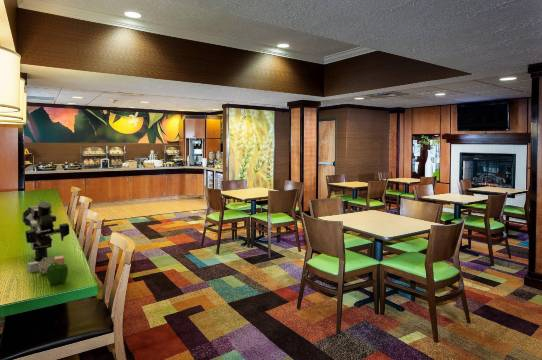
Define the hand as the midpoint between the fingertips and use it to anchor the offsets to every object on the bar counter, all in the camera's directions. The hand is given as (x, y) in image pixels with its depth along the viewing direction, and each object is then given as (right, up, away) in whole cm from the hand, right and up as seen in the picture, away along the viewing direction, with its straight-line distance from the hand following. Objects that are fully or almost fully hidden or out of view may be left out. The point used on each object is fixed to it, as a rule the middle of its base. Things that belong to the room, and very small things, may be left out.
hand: (52, 242), depth 184 cm
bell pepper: (+11, -16, -15) cm, 24 cm away
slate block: (-9, -14, +1) cm, 17 cm away
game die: (-1, -14, -3) cm, 15 cm away
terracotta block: (-3, -13, +11) cm, 17 cm away
